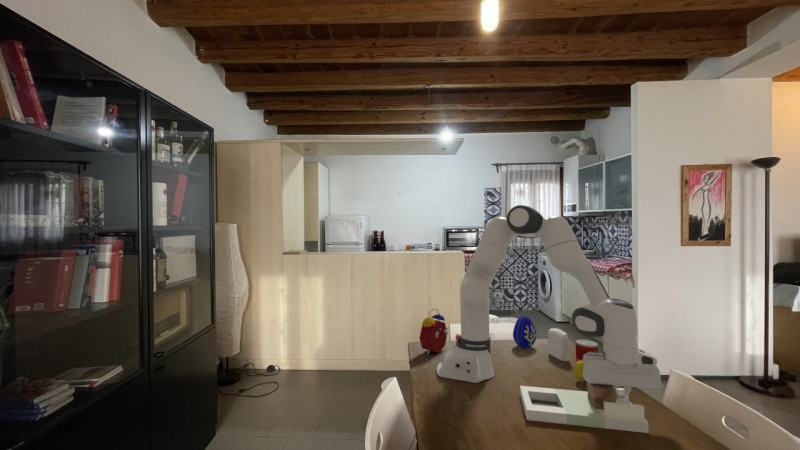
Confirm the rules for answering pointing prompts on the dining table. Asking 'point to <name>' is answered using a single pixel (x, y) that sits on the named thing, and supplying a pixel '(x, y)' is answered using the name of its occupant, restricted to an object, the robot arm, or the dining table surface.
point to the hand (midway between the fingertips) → (620, 399)
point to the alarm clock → (433, 333)
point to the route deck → (581, 409)
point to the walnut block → (600, 394)
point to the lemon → (579, 370)
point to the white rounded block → (558, 344)
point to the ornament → (524, 332)
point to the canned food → (585, 348)
